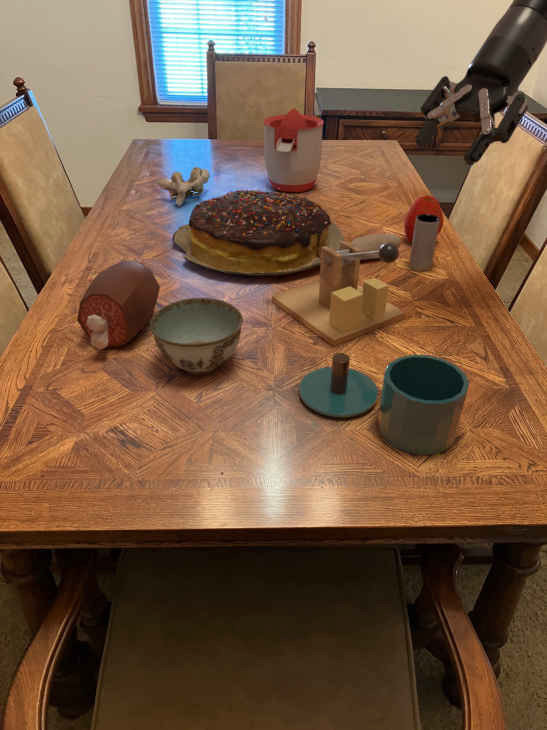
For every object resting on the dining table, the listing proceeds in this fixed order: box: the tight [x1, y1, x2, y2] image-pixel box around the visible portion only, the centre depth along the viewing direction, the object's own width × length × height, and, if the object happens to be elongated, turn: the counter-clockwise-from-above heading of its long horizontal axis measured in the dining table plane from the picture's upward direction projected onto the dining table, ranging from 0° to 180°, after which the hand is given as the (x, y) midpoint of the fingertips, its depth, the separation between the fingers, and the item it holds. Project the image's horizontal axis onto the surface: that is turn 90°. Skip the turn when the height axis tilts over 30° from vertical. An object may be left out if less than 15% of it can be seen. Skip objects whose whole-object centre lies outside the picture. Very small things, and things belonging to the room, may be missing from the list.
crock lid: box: [298, 352, 379, 418], centre depth 81 cm, size 11×11×7 cm
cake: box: [171, 189, 346, 277], centre depth 123 cm, size 37×37×10 cm
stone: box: [350, 233, 402, 260], centre depth 119 cm, size 6×6×12 cm
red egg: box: [403, 194, 444, 244], centre depth 124 cm, size 8×8×11 cm
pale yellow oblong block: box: [329, 286, 364, 333], centre depth 94 cm, size 3×4×6 cm
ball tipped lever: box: [336, 243, 400, 266], centre depth 92 cm, size 15×3×3 cm, turn 34°
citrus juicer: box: [262, 108, 325, 193], centre depth 151 cm, size 16×17×20 cm
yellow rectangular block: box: [362, 277, 389, 320], centre depth 97 cm, size 3×2×6 cm
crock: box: [377, 354, 470, 456], centre depth 74 cm, size 10×10×8 cm
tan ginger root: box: [157, 166, 211, 208], centre depth 148 cm, size 9×14×8 cm, turn 136°
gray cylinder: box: [408, 214, 440, 272], centre depth 114 cm, size 4×4×10 cm
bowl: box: [149, 297, 244, 376], centre depth 87 cm, size 14×13×8 cm
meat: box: [76, 258, 161, 351], centre depth 94 cm, size 20×12×10 cm, turn 170°
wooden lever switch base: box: [271, 240, 406, 347], centre depth 99 cm, size 18×16×12 cm
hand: (442, 154), depth 82 cm, fingers open, 8 cm apart
